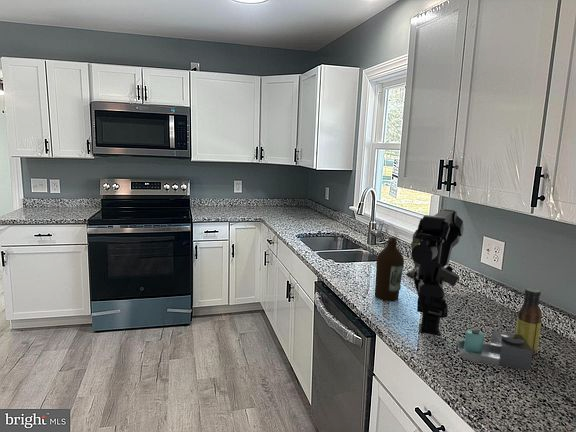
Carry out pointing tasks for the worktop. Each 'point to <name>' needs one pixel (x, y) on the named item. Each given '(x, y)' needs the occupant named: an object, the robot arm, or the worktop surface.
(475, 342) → the teal bottle with cap
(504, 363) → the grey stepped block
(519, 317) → the sauce bottle
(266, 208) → the worktop surface
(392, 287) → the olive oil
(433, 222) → the robot arm
